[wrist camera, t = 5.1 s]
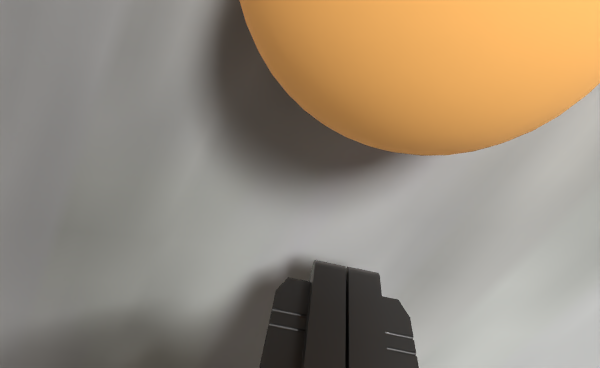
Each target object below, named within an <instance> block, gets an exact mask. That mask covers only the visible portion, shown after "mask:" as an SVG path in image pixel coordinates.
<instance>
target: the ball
mask: <svg viewBox="0 0 600 368" xmlns="http://www.w3.org/2000/svg"><path fill="white" fill-rule="evenodd" d="M240 4H241V7H242V11H243V14H244V17H245V21H246V24H247V26H248V28H249V31H250V33H251V35H252V38H253V40H254V42H255V44H256V47H257V49H258V51H259V53H260V55H261V57H262V58H263V60H264V62H265V63H266V65H267V67H268V68H269V70H270V72H271V73H272V75H273V76H274V77H275V78H276V80H277V81H278V82H279V84H280V85H281V86H282V87H283V89H284V90H285V91H286V92H287V94H288V95H289V96H290V97H291V98H292V99H294V100H295V101H296V102H297V103H298V104H299V105H300V106H301V107H302V108H303V109H304V110H305V111H306V112H307V113H309V114H310V115H311V116H313V117H314V118H315V119H317V120H318V121H319V122H321V123H322V124H323V125H325V126H327V127H328V128H330V129H332V130H334V131H336V132H337V133H339V134H341V135H343V136H345V137H347V138H349V139H352V140H354V141H357V142H359V143H362V144H364V145H367V146H370V147H374V148H378V149H382V150H386V151H390V152H396V153H405V154H413V155H451V154H458V153H465V152H472V151H476V150H480V149H483V148H487V147H491V146H494V145H498V144H501V143H504V142H506V141H509V140H511V139H514V138H516V137H519V136H521V135H523V134H526V133H528V132H531V131H533V130H535V129H537V128H538V127H540V126H542V125H544V124H545V123H547V122H549V121H551V120H552V119H554V118H556V117H558V116H559V115H560V114H562V113H563V112H565V111H566V110H567V109H569V108H570V107H571V106H573V105H574V104H575V103H577V102H578V101H579V100H581V99H582V98H583V97H585V96H586V95H587V94H588V93H589V92H591V91H592V90H593V89H594V88H595V87H596V86H597V85H598V84H599V83H600V0H240Z"/></svg>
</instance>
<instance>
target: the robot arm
mask: <svg viewBox="0 0 600 368" xmlns="http://www.w3.org/2000/svg"><path fill="white" fill-rule="evenodd" d="M260 368H419V367H418V361H417V356H416V349H415V344H414V340H413V332H412V327H411V321H410V317H409V315H408V314H407V312H406V311H405V309H404V308H403V306H402V305H401V303H400V302H399V300H397V299H392V298H387V297H382V294H381V284H380V276H379V273H376V272H371V271H366V270H361V269H356V268H351V267H347V268H346V267H345V266H341V265H336V264H331V263H326V262H321V261H316V260H315V261H314V263H313V267H312V271H311V276H310V280H309V282H308V281H303V280H298V279H293V278H289V277H288V278H287V279H286V281H285V282H284V283H283V284H282V285H281V286H280V287H279V288H278V289H277V290H276V293H275V298H274V303H273V307H272V312H271V317H270V321H269V326H268V331H267V335H266V340H265V344H264V349H263V354H262V358H261V363H260Z"/></svg>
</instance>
